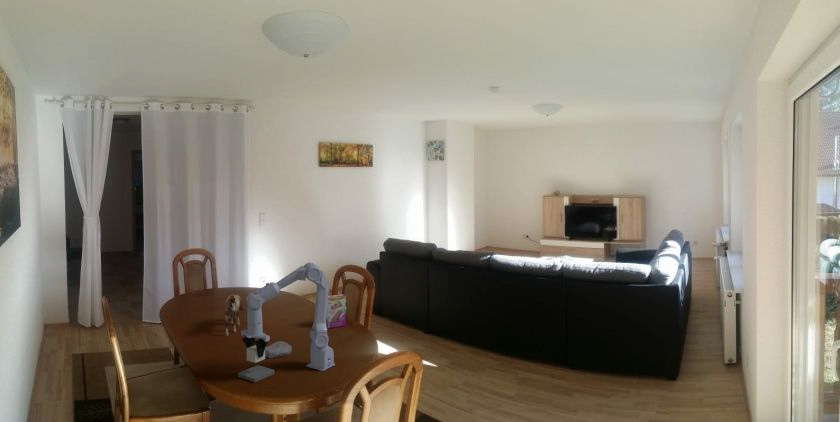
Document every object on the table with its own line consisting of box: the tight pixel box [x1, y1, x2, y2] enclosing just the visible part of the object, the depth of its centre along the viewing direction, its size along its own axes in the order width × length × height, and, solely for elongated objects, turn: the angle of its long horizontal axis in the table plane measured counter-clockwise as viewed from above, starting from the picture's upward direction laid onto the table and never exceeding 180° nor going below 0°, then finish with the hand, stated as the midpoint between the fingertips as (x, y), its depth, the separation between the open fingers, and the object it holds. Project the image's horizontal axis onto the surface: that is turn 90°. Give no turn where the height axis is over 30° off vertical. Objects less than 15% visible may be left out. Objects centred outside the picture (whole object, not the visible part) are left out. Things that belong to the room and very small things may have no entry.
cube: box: [246, 344, 266, 364], centre depth 209 cm, size 5×5×5 cm
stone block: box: [265, 340, 293, 359], centre depth 233 cm, size 12×5×10 cm
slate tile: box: [237, 364, 275, 383], centre depth 209 cm, size 10×10×2 cm
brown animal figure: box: [223, 294, 247, 337], centre depth 266 cm, size 31×8×21 cm, turn 10°
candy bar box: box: [326, 294, 347, 330], centre depth 271 cm, size 11×5×16 cm, turn 120°
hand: (255, 355), depth 209 cm, fingers closed on cube, 5 cm apart
